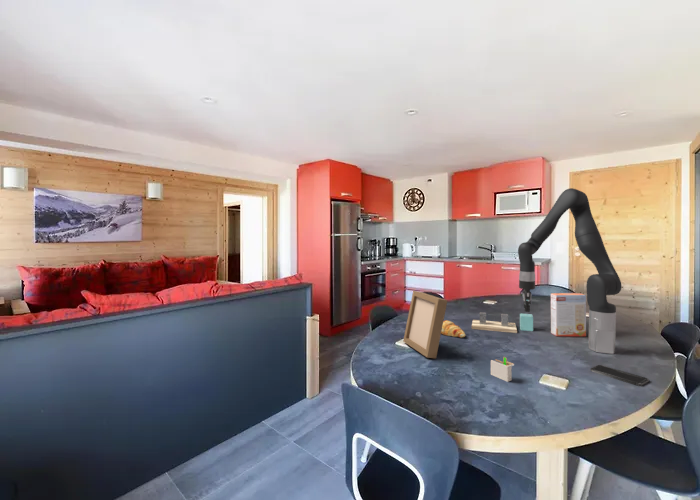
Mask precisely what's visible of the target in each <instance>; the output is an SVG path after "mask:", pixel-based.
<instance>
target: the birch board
mask: <svg viewBox="0 0 700 500" xmlns="http://www.w3.org/2000/svg"><path fill="white" fill-rule="evenodd" d="M471 330H479V331H480V330H481V331H490V332H491V331H493V332H502V333H514V334H517V333H518V329H517V325H516V323H515V322H508V327H507V326H501V321H493V320H492V321H491V320H486V325H484V324H480V319H472V322H471Z"/></svg>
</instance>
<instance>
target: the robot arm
mask: <svg viewBox="0 0 700 500" xmlns="http://www.w3.org/2000/svg"><path fill="white" fill-rule="evenodd" d="M589 201H590V200H589V198H588V196H587V194H586V193H585V192H583V191H581V190H579V189H576V188H574V187H573V188H571V187H570V188H567V189H565V190H564V191H562V192H561V193H560V195H559V197H558V198H557V200H556V201H555V203H554V204H553V206H552V207H551V209H550V210H549V211H548V213H547V215H546V216H545V217H544V219H543V220H542V222H540V224H539V225H538V226H537V227H536V228H535V229H534V230H533V231H532V233H531V235H530V238H529V239H528V240H527V241H525V242H521V243H520V244H519V246H518V250H517V255H518V260H519V274H518V288H519V289H522V301H523V308H524V312H528V313H530V311H531V303H532V302H531V301H532V291H531V290H535V289H536V273H535V271H536V263H535V261H534V260H533V255H534V254H535V253H537V251H538V250H539V249H541V248H540V247H542V245H543V243H544V242H546V240H547V239H548V238H549V237H550V236H551V235H552V234H553V232H554V231H555V229H556V228H557V225H558V223H559V221H560V219H561V218H562V216H563V215H564V214H565V213H566V212H568V210H570V212H571V214H572V216H573V219H574V224H575V225H574V238H575V240H576V244H577V246H578V247H577V248H578V249H579V251H580V252H581V253H582V255H584V256H585V257H586V258H587V259H588V260H589V261H590V262H591V263H592V264H593V265H594V267H595V269H596V271H597V273H595V274H591V275H589V276H588V278H587V280H586V303H587V304H588V305H587V306H588V349H589V350H591V351H594V352H595V353H602V354H610V355H614V354H615V352H616V325H617V323H616V320H617V306H616V305H615V304H613V303H611V302H609V301H608V300H607V299H608V297H607V296H613V295H617V294H619V293H620V292H621V291H622V288H623V287H622V281H621V278H620V276H619V275H618V272H617V271H616V269H615V267H614V265H613V263H612V261H611V259H610V257H609V254H608V252H607V249H606V247H605V244H604V241H603V239H602V235H601V233H600V231H599V229H598V226H597V224H596V222H595V221H596V220H595V218H594V217H593V215H592V210H591V206H590V203H589Z"/></svg>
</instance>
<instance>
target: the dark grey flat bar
mask: <svg viewBox="0 0 700 500" xmlns="http://www.w3.org/2000/svg"><path fill="white" fill-rule="evenodd" d="M589 371H590V372H593V373H595V374H598V375H601V376H605V377H608V378H610V379H614V380H617V381H621V382H623V383H627V384H630V385H634V386H637V387H642V386H644V385H646V384H648V383H649V382H650V379H649V378H648V377H644V376H641V375H638V374H634V373H631V372H627V371H624V370H620V369H616V368H613V367H609V366H606V365H603V364H598V365H597V364H596V366H592V367H591V368H590V370H589Z"/></svg>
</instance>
